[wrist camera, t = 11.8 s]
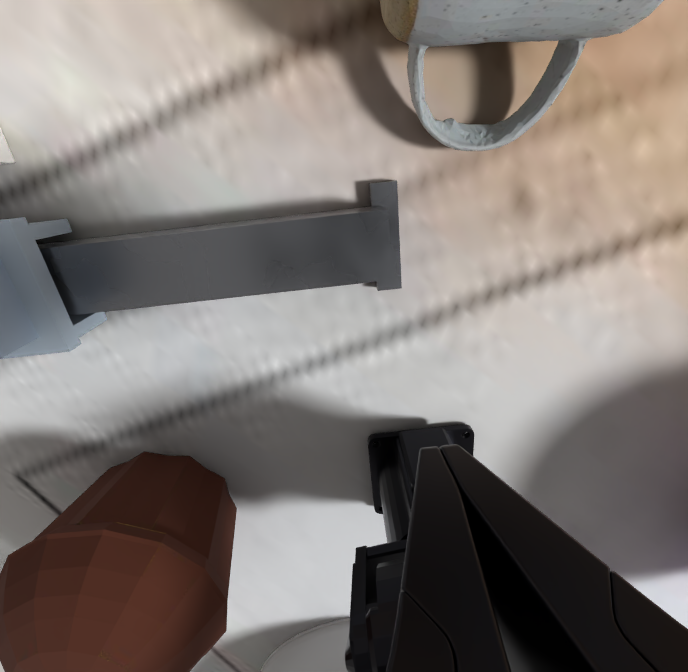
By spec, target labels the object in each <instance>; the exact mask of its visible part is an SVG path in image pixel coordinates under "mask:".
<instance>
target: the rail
mask: <svg viewBox="0 0 688 672" xmlns="http://www.w3.org/2000/svg"><path fill="white" fill-rule="evenodd" d="M369 190H370V204H371V206H368V207H360V208H351V209H342V210H333V211H325V212H316V213H307V214H298V215H290V216H281V217H272V218H264V219H255V220H246V221H237V222H229V223H220V224H211V225H202V226H194V227H185V228H176V229H167V230H159V231H150V232H141V233H133V234H124V235H115V236H106V237H98V238H89V239H80V240H71V241H63V242H54V243H45V244H37V245H38V247H39V250H40V252H41V254H42V256H43V259H44V261H45V263H46V265H47V268H48V270H49V272H50V274H51V277H52V279H53V281H54V283H55V286H56V288H57V290H58V292H59V295H60V297H61V299H62V301H63V304H64V306H65V308H66V310H67V313H68V315H69V316H71V315H80V314H89V313H98V312H107V311H116V310H125V309H134V308H143V307H152V306H161V305H170V304H179V303H188V302H197V301H206V300H215V299H224V298H233V297H242V296H251V295H260V294H269V293H278V292H287V291H296V290H305V289H314V288H323V287H332V286H341V285H350V284H358V283H367V282H376V288H377V290H378V291H380V290H389V289H398V288H401V264H400V241H399V217H398V194H397V181H386V182H378V183H369Z"/></svg>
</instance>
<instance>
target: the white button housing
mask: <svg viewBox="0 0 688 672" xmlns="http://www.w3.org/2000/svg"><path fill="white" fill-rule="evenodd" d="M9 163H15V160H14V158H13V156H12V153H11V151H10V149H9V146H8V144H7V142H6V139H5V137H4V135H3V132H2V130H1V128H0V165H1V164H9Z"/></svg>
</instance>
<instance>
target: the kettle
mask: <svg viewBox="0 0 688 672" xmlns="http://www.w3.org/2000/svg"><path fill="white" fill-rule="evenodd" d="M349 628H350V617H349V618H344V619H339V620H335V621H331V622H328V623H325V624H322V625H319V626H316V627H313V628H311V629H308V630H306V631H304V632H302V633H300V634H298V635H296V636H294V637H292V638H291V639H289V640H287V641H286V642H284V643H283V644H282V645H280V646H279V647H278V648H277V649H276V650H275V651H274V652H273V653H272V654H271V655H270V656H269V657H268V658H267V660H266V661H265V663H264V664H263V666H262V668H261V670H260V672H348V671H347V669H346V664H345V650H346V645H347V640H348V635H349Z"/></svg>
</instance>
